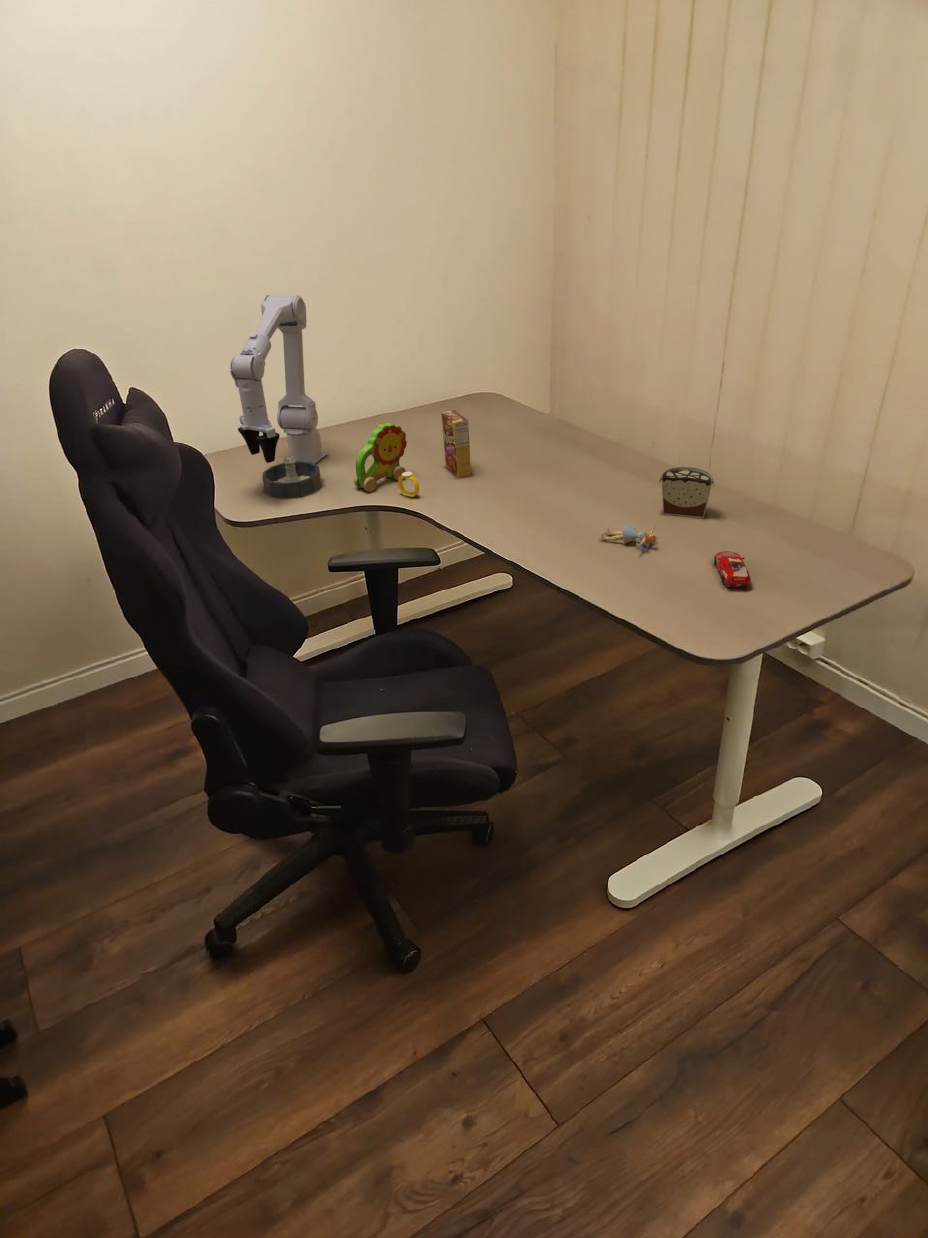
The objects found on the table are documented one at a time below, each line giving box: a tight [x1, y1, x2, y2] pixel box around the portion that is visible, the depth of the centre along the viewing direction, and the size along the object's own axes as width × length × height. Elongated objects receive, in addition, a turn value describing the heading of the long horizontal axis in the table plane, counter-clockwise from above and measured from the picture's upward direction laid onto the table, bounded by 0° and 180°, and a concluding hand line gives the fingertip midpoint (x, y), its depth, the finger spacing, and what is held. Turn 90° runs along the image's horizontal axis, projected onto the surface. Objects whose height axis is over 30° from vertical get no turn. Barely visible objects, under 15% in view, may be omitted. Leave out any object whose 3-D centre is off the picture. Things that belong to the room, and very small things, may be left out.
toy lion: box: [353, 422, 408, 493], centre depth 227 cm, size 16×6×15 cm, turn 134°
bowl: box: [261, 461, 322, 499], centre depth 230 cm, size 15×15×4 cm
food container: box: [659, 466, 715, 519], centre depth 206 cm, size 12×6×10 cm, turn 71°
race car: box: [713, 550, 751, 588], centre depth 181 cm, size 13×5×4 cm, turn 177°
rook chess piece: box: [282, 455, 301, 483], centre depth 229 cm, size 4×4×8 cm
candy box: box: [441, 409, 472, 479], centre depth 231 cm, size 9×4×15 cm, turn 23°
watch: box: [397, 471, 420, 498], centre depth 221 cm, size 6×3×6 cm, turn 53°
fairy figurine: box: [600, 524, 657, 553], centre depth 195 cm, size 12×5×12 cm
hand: (262, 457), depth 222 cm, fingers open, 7 cm apart
